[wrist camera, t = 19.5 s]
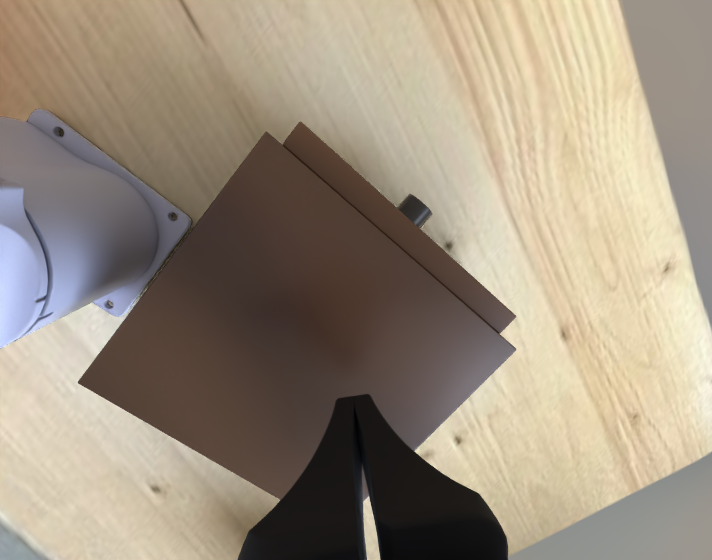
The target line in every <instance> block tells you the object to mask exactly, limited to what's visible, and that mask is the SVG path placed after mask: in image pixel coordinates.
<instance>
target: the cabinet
mask: <svg viewBox="0 0 712 560" xmlns="http://www.w3.org/2000/svg"><path fill="white" fill-rule="evenodd" d="M515 351H516V348H515V347H514V346H512V345H511V344H510V343H509V342H508V341H507V340H506V339H504V338H503V337H502V336H501V335H500V334H499V333H498V332H496V331H495V330H494V329H493V328H492V327H491V326H490V325H488V324H487V323H486V322H485V321H484V320H483V319H481V318H480V317H479V316H478V315H477V314H476V313H475V312H473V311H472V310H471V309H470V308H469V307H468V306H467V305H465V304H464V303H463V302H462V301H461V300H460V299H458V298H457V297H456V296H455V295H454V294H453V293H452V292H450V291H449V290H448V289H447V288H446V287H445V286H444V285H442V284H441V283H440V282H439V281H438V280H437V279H436V278H434V277H433V276H432V275H431V274H430V273H429V272H427V271H426V270H425V269H424V268H423V267H422V266H421V265H419V264H418V263H417V262H416V261H415V260H414V259H413V258H411V257H410V256H409V255H408V254H407V253H406V252H404V251H403V250H402V249H401V248H400V247H399V246H398V245H396V244H395V243H394V242H393V241H392V240H391V239H390V238H388V237H387V236H386V235H385V234H384V233H383V232H381V231H380V230H379V229H378V228H377V227H376V226H375V225H373V224H372V223H371V222H370V221H369V220H368V219H367V218H365V217H364V216H363V215H362V214H361V213H360V212H359V211H357V210H356V209H355V208H354V207H353V206H352V205H350V204H349V203H348V202H347V201H346V200H345V199H344V198H342V197H341V196H340V195H339V194H338V193H337V192H336V191H334V190H333V189H332V188H331V187H330V186H329V185H327V184H326V183H325V182H324V181H323V180H322V179H321V178H319V177H318V176H317V175H316V174H315V173H314V172H313V171H311V170H310V169H309V168H308V167H307V166H306V165H304V164H303V163H302V162H301V161H300V160H299V159H298V158H296V157H295V156H294V155H293V154H292V153H291V152H290V151H288V150H287V149H286V148H285V147H284V146H283V145H282V144H281V143H279V142H278V141H277V140H276V139H275V138H274V137H272V136H271V135H270V134H269V133H268V132H265V133H264V135H263V136H262V137H261V139H260V140H259V141H258V143H257V144H256V145H255V147H254V148H253V149H252V151H251V152H250V153H249V155H248V156H247V157H246V159H245V160H244V161H243V163H242V164H241V165H240V167H239V168H238V169H237V171H236V172H235V173H234V175H233V176H232V177H231V179H230V180H229V181H228V183H227V184H226V185H225V187H224V188H223V189H222V191H221V192H220V193H219V195H218V196H217V197H216V199H215V200H214V201H213V203H212V204H211V205H210V207H209V208H208V209H207V211H206V212H205V213H204V215H203V216H202V217H201V219H200V220H199V221H198V223H197V224H196V225H195V227H194V228H193V229H192V231H191V232H190V233H189V235H188V236H187V237H186V239H185V240H184V241H183V243H182V244H181V245H180V247H179V248H178V249H177V251H176V252H175V253H174V255H173V256H172V257H171V259H170V260H169V261H168V263H167V264H166V265H165V267H164V268H163V269H162V271H161V272H160V273H159V275H158V276H157V277H156V279H155V280H154V281H153V283H152V284H151V285H150V287H149V288H148V289H147V291H146V292H145V293H144V295H143V296H142V297H141V299H140V300H139V301H138V302H137V304H136V305H135V306H134V308H133V309H132V310H131V312H130V313H129V314H128V316H127V317H126V318H125V320H124V321H123V322H122V324H121V325H120V326H119V328H118V329H117V330H116V332H115V333H114V334H113V336H112V337H111V338H110V340H109V341H108V342H107V344H106V345H105V346H104V348H103V349H102V350H101V352H100V353H99V354H98V356H97V357H96V358H95V360H94V361H93V362H92V364H91V365H90V366H89V368H88V369H87V370H86V372H85V373H84V374H83V376H82V377H81V378H80V380H79V381H78V383H79V384H80V385H82V386H84V387H86V388H87V389H89V390H91V391H92V392H94V393H96V394H98V395H99V396H101V397H103V398H105V399H106V400H108V401H110V402H112V403H113V404H115V405H117V406H119V407H120V408H122V409H124V410H125V411H127V412H129V413H131V414H132V415H134V416H136V417H138V418H139V419H141V420H143V421H145V422H146V423H148V424H150V425H152V426H153V427H155V428H157V429H158V430H160V431H162V432H164V433H165V434H167V435H169V436H171V437H172V438H174V439H176V440H178V441H179V442H181V443H183V444H185V445H186V446H188V447H190V448H191V449H193V450H195V451H197V452H198V453H200V454H202V455H204V456H205V457H207V458H209V459H211V460H212V461H214V462H216V463H218V464H219V465H221V466H223V467H224V468H226V469H228V470H230V471H231V472H233V473H235V474H237V475H238V476H240V477H242V478H244V479H245V480H247V481H249V482H251V483H252V484H254V485H256V486H257V487H259V488H261V489H263V490H264V491H266V492H268V493H270V494H271V495H273V496H275V497H277V498H278V499H280V500H281V499H282V498H283V497H284V496H285V495H286V494H287V492H288V491H289V490H290V489H291V488H292V486H293V485H294V484H295V482H296V481H297V480H298V478H299V477H300V475H301V474H302V473H303V471H304V470H305V468H306V467H307V465H308V463H309V462H310V460H311V459H312V457H313V455H314V453H315V452H316V450H317V448H318V446H319V444H320V442H321V440H322V438H323V436H324V434H325V431H326V429H327V426H328V424H329V422H330V419H331V416H332V413H333V410H334V406H335V401H336V400H337V399H338V398H343V397H350V396H357V395H363V394H369V395H371V396H372V399H373V401H374V403H375V405H376V406H377V408H378V409H379V411H380V413H381V414H382V415H383V417H384V418H385V420H386V421H387V422H388V423H389V425H390V426H391V427H392V429H393V430H394V431H395V432H396V433H397V434H398V435H399V437H400V438H401V439H402V440H403V441H404V442H405V443H406V444H407V445H408V446H409V447H410V448H411V449H412V450H413V451H415V450H416V449H417V448H418V447H419V446H420V445H421V444H422V443H423V442H424V441H425V440H426V439H427V438H428V437H429V436H430V435H431V434H432V433H433V432H434V431H435V430H436V429H437V428H438V427H439V426H440V425H441V424H442V423H443V422H444V421H445V420H446V419H447V418H448V417H449V416H450V415H451V414H452V413H453V412H454V411H455V410H456V409H457V408H458V407H459V406H460V405H461V404H462V403H463V402H464V401H465V400H466V399H467V398H468V397H469V396H470V395H471V394H472V393H473V392H474V391H475V390H476V389H477V388H478V387H479V386H480V385H481V384H482V383H483V382H484V381H485V380H486V379H487V378H488V377H489V376H490V375H491V374H492V373H493V372H494V371H495V370H496V369H497V368H498V367H499V366H500V365H501V364H502V363H504V362H505V361H506V360H507V359H508V358H509V357H510V356H511V355H512V354H513V353H514V352H515ZM362 481H363V501H364V500H365V499H366V498H367V497H368V496H369V493H368V488H367V484H366V479H365V475H364V470H363V466H362Z"/></svg>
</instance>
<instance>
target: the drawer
mask: <svg viewBox="0 0 712 560" xmlns="http://www.w3.org/2000/svg"><path fill="white" fill-rule="evenodd" d="M283 146H284V147H285V148H286V149H287V150H288V151H290V152H291V153H292V154H293V155H294V156H295V157H296V158H298V159H299V160H300V161H301V162H302V163H303V164H304V165H306V166H307V167H308V168H309V169H310V170H311V171H313V172H314V173H315V174H316V175H317V176H318V177H319V178H321V179H322V180H323V181H324V182H325V183H326V184H327V185H329V186H330V187H331V188H332V189H333V190H334V191H336V192H337V193H338V194H339V195H340V196H341V197H342V198H344V199H345V200H346V201H347V202H348V203H349V204H350V205H352V206H353V207H354V208H355V209H356V210H357V211H359V212H360V213H361V214H362V215H363V216H364V217H365V218H367V219H368V220H369V221H370V222H371V223H372V224H373V225H375V226H376V227H377V228H378V229H379V230H380V231H381V232H383V233H384V234H385V235H386V236H387V237H388V238H390V239H391V240H392V241H393V242H394V243H395V244H396V245H398V246H399V247H400V248H401V249H402V250H403V251H404V252H406V253H407V254H408V255H409V256H410V257H411V258H413V259H414V260H415V261H416V262H417V263H418V264H419V265H421V266H422V267H423V268H424V269H425V270H426V271H427V272H429V273H430V274H431V275H432V276H433V277H434V278H436V279H437V280H438V281H439V282H440V283H441V284H442V285H444V286H445V287H446V288H447V289H448V290H449V291H450V292H452V293H453V294H454V295H455V296H456V297H457V298H458V299H460V300H461V301H462V302H463V303H464V304H465V305H467V306H468V307H469V308H470V309H471V310H472V311H473V312H475V313H476V314H477V315H478V316H479V317H480V318H481V319H483V320H484V321H485V322H486V323H487V324H488V325H490V326H491V327H492V328H493V329H494V330H495V331H496V332H498V333H499V334H500V333H501V332H502V331H503V330H504V329H505V328H506V327H507V326H508V325H509V324H510V323H511V322H512V321H513V320H514V319H515V318H516V315H515V314H513V313H512V312H511V311H510V310H509V309H508V308H507V307H506V306H505V305H503V304H502V303H501V302H500V301H499V300H498V299H497V298H496V297H495V296H494V295H492V294H491V293H490V292H489V291H488V290H487V289H486V288H485V287H484V286H482V285H481V284H480V283H479V282H478V281H477V280H476V279H475V278H474V277H473V276H471V275H470V274H469V273H468V272H467V271H466V270H465V269H464V268H463V267H461V266H460V265H459V264H458V263H457V262H456V261H455V260H454V259H453V258H451V257H450V256H449V255H448V254H447V253H446V252H445V251H444V250H443V249H442V248H440V247H439V246H438V245H437V244H436V243H435V242H434V241H433V240H432V239H430V238H429V237H428V236H427V235H426V234H425V233H424V232H423V231H422V230H421V229H420V228H421V227H422V226H423V224H424V223H425V222H426V221H427V220H428V219H429V218H430V216H431V215H432V212H431V211H430V209H429V208H428V207H427V206H426V205H425V204H423V203H422V202H421V201H420V200H419V199H417V198H416V197H415V196H413V195H411V194H409V195H408V196H407V197H406V198H405V200H404V201H403V202H402V203H401V204H400V205H399V207H398V208H396V207H395V206H394V205H393V204H392V203H391V202H390V201H388V200H387V199H386V198H385V197H384V196H383V195H382V194H381V193H380V192H378V191H377V190H376V189H375V188H374V187H373V186H372V185H371V184H370V183H368V182H367V181H366V180H365V179H364V178H363V177H362V176H361V175H360V174H359V173H357V172H356V171H355V170H354V169H353V168H352V167H351V166H350V165H349V164H347V163H346V162H345V161H344V160H343V159H342V158H341V157H340V156H339V155H338V154H336V153H335V152H334V151H333V150H332V149H331V148H330V147H329V146H328V145H326V144H325V143H324V142H323V141H322V140H321V139H320V138H319V137H318V136H316V135H315V134H314V133H313V132H312V131H311V130H310V129H309V128H308V127H307V126H305V125H304V124H303V123H302V122H299V123H298V125H297V126H296V127H295V128H294V130H293V131H292V132H291V134H290V135H289V136H288V138H287V139H286V140H285V142H284V143H283Z"/></svg>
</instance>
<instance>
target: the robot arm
mask: <svg viewBox="0 0 712 560" xmlns="http://www.w3.org/2000/svg"><path fill="white" fill-rule="evenodd" d="M61 128H62V129H63V130H64V136H62V137H61V136H60V134H59V130H60V129H61ZM173 212H174V213H176V214H177V217H178V218H177V220H176V221H175V220H173V219H172V217H171V214H172V213H173ZM190 226H191V219H190V217H189V216H188V215H186V214H185V213H184V212H182V211H181V210H180V209H178V208H177V207H176V206H175V205H173V204H172V203H171V202H169V201H168V200H167V199H165V198H164V197H163V196H161V195H160V194H159V193H157V192H156V191H155V190H153V189H152V188H151V187H149V186H148V185H147V184H145V183H144V182H143V181H141V180H140V179H139V178H137V177H136V176H135V175H133V174H132V173H131V172H129V171H128V170H127V169H125V168H124V167H123V166H121V165H120V164H119V163H117V162H116V161H115V160H113V159H112V158H111V157H109V156H108V155H107V154H105V153H104V152H103V151H101V150H100V149H99V148H97V147H96V146H95V145H93V144H92V143H91V142H90V141H88V140H87V139H86V138H84V137H83V136H82V135H80V134H79V133H78V132H76V131H75V130H74V129H72V128H71V127H70V126H68V125H67V124H66V123H64V122H63V121H62V120H60V119H59V118H58V117H56V116H55V115H54V114H52V113H51V112H49V111H47V110H44V109H36V110H34V111H33V112H32V114H31V115H30V117H29V119H28V120H27V121H22V120H17V119H12V118H8V117H3V116H0V349H1V348H3V347H4V346H6V345H8V344H10V343H11V342H14V341H16V340H18V339H20V338H22V337H24V336H26V335H28V334H30V333H32V332H34V331H36V330H38V329H40V328H42V327H44V326H46V325H48V324H50V323H52V322H54V321H56V320H58V319H60V318H62V317H64V316H66V315H68V314H70V313H72V312H74V311H76V310H78V309H80V308H82V307H84V306H86V305H88V304H90V303H92V302H93V303H94V304H96V305H97V306H99V307H100V308H102V309H104V310H105V311H107V312H108V313H110V314H111V315H113V316H117V317H119V316H122V315H123V314H125V313H126V312H127V311H128V309H129V308H130V307H131V305H132V304H133V303H134V301H135V300H136V299H137V297H138V296H139V295H140V293H141V292H142V291H143V289H144V288H145V287H146V285H147V284H148V283H149V281H150V280H151V279H152V277H153V276H154V275H155V273H156V272H157V271H158V269H159V268H160V267H161V265H162V264H163V263H164V261H165V260H166V259H167V257H168V256H169V255H170V253H171V252H172V251H173V249H174V248H175V247H176V245H177V244H178V243H179V241H180V240H181V239H182V237H183V236H184V235H185V233H186V232H187V231H188V229H189V228H190ZM108 301H111V302H112V303H113V306H110V305H109V304H108ZM362 466H363V470H364V475H365V479H366V484H367V488H368V493H369V497H370V502H371V506H372V511H373V515H374V520H375V525H376V530H377V537H378V544H379V551H380V558H381V560H508V544H507V538H506V535H505V534H504V531H503V529H502V527H501V525H500V523H499V522H498V520H497V518H496V517H495V515H494V514H493V512H492V511H491V509H490V508H489V506H488V505H487V504H486V502H485V501H484V500H483V498H482V497H481V496H480V494H478V493H477V492H475V491H473V490H471V489H469V488H467V487H465V486H463V485H461V484H459V483H457V482H455V481H454V480H452V479H450V478H449V477H447V476H445V475H444V474H442V473H441V472H440V471H438V470H437V469H435V468H434V467H433V466H431V465H430V464H429V463H427V462H426V461H425V460H424V459H422V458H421V457H420V456H419V455H418V454H416V453H415V452H414V451H413V450H412V449H411V448H410V447H409V446H408V445H407V444H406V443H405V442H404V441H403V440H402V439H401V438H400V437H399V435H398V434H397V433H396V432H395V431H394V430H393V429H392V427H391V426H390V425H389V423H388V422H387V421H386V420H385V418H384V417H383V415H382V414H381V413H380V411H379V409H378V408H377V406H376V405H375V403H374V401H373V399H372V396H371V395H369V394H363V395H357V396H350V397H343V398H338V399H337V400H336V401H335V406H334V410H333V413H332V416H331V419H330V422H329V424H328V426H327V429H326V431H325V434H324V436H323V438H322V440H321V442H320V444H319V446H318V448H317V450H316V452H315V453H314V455H313V457H312V459H311V460H310V462H309V463H308V465H307V467H306V468H305V470H304V471H303V473H302V474H301V475H300V477H299V478H298V480H297V481H296V482H295V484H294V485H293V486H292V488H291V489H290V490H289V491H288V492H287V494H286V495H285V496H284V497H283V498H282V499H281V500H280V502H279V503H278V504H277V505H276V506H275V507H274V508H273V509H272V510H271V511H270V512H269V513H268V514H267V515H266V516H265V517H264V518H263V519H262V520H261V521H260V522H258V523H257V524H256V525H255V526H254V527H253V528H252V529H251V530H249V532H248V534H247V536H246V539H245V541H244V544H243V546H242V549H241V552H240V555H239V557H238V560H367V556H366V546H365V537H364V522H363V481H362Z"/></svg>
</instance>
